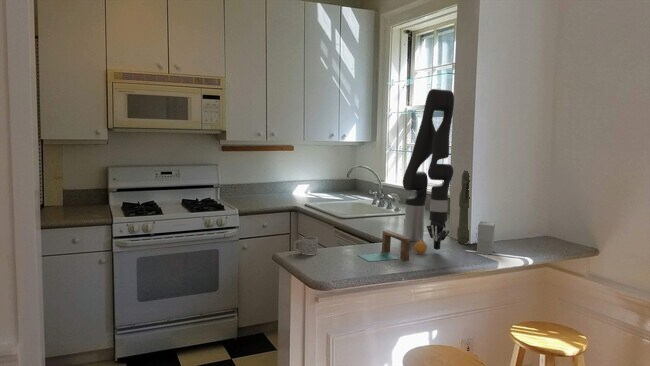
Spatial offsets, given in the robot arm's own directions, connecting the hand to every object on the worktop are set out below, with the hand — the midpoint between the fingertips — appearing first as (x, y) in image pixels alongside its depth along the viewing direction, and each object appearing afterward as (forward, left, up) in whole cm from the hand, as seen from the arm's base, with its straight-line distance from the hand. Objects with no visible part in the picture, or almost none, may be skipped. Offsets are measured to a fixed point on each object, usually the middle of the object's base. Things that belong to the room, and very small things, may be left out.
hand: (436, 249), depth 220 cm
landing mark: (0, -29, -2) cm, 29 cm away
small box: (+6, +22, -2) cm, 23 cm away
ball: (0, -8, +1) cm, 8 cm away
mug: (-15, -55, -2) cm, 57 cm away
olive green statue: (-13, +27, -2) cm, 30 cm away
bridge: (0, -21, -2) cm, 21 cm away
